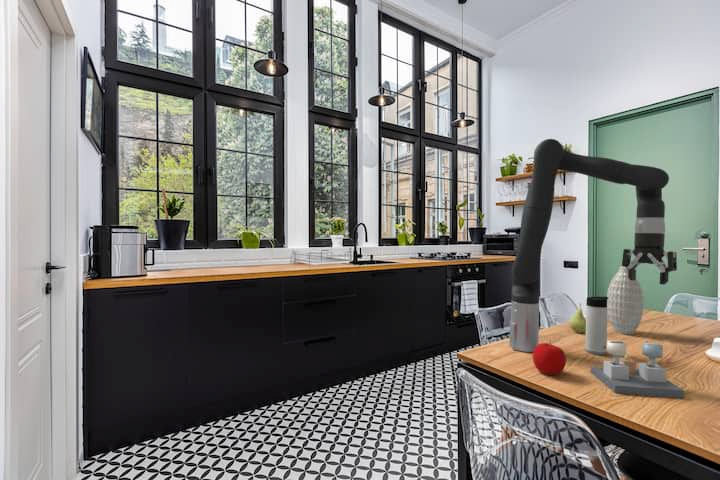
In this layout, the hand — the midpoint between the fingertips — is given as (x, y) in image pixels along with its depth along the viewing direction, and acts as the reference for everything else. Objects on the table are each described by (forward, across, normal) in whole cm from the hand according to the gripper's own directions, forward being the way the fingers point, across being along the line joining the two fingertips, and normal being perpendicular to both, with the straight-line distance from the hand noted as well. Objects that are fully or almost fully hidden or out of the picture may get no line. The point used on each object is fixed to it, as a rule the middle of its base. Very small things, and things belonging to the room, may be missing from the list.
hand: (647, 282), depth 116 cm
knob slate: (+21, +11, -17) cm, 29 cm away
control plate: (+27, +8, -21) cm, 35 cm away
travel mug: (+27, -14, -3) cm, 30 cm away
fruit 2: (+27, -34, +17) cm, 47 cm away
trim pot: (+25, +5, -18) cm, 31 cm away
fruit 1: (+27, -8, -35) cm, 45 cm away
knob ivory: (+21, +5, -24) cm, 33 cm away
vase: (+27, -25, +35) cm, 51 cm away
